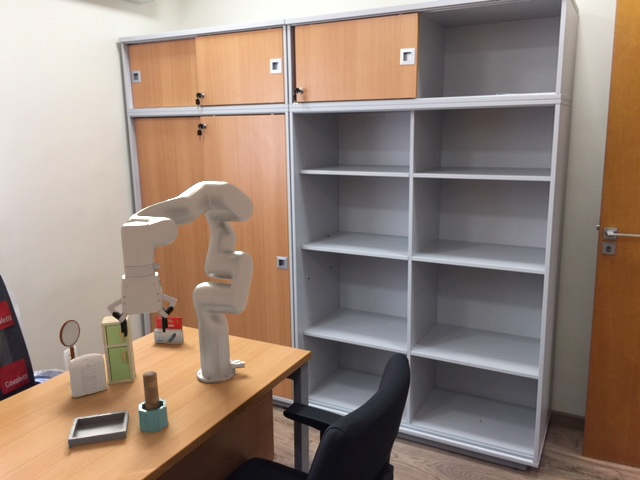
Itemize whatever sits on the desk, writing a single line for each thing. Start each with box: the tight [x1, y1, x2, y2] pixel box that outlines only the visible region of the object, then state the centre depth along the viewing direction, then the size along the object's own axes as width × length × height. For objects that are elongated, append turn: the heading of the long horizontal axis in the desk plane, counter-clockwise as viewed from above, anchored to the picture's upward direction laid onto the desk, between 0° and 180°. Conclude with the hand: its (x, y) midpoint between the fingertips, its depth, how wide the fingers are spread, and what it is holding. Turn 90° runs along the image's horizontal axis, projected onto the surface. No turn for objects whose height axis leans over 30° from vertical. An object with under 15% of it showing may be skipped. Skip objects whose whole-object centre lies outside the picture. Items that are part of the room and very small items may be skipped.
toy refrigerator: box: [101, 315, 137, 385], centre depth 176 cm, size 8×7×21 cm
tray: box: [67, 410, 130, 450], centre depth 147 cm, size 14×11×3 cm
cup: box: [137, 397, 169, 434], centre depth 149 cm, size 7×7×6 cm
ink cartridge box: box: [153, 316, 185, 345], centre depth 207 cm, size 2×11×10 cm, turn 81°
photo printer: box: [68, 352, 108, 398], centre depth 169 cm, size 10×4×12 cm, turn 123°
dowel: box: [142, 370, 160, 411], centre depth 148 cm, size 4×4×15 cm
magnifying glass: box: [59, 319, 81, 361], centre depth 178 cm, size 9×2×20 cm, turn 164°
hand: (145, 332), depth 144 cm, fingers open, 9 cm apart
